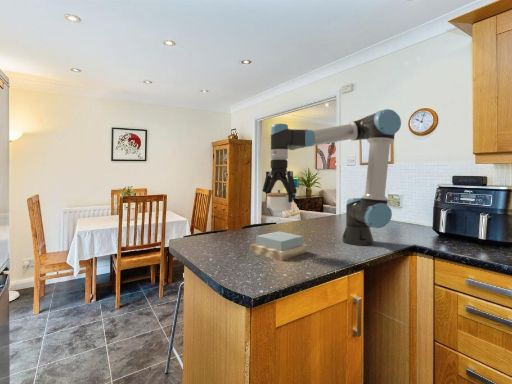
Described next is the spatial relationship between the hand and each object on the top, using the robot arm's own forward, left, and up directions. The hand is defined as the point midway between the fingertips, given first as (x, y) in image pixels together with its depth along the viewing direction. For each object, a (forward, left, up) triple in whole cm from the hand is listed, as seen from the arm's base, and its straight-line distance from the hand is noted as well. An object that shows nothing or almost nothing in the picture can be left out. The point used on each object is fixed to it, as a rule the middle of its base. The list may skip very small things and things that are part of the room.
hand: (278, 208), depth 123 cm
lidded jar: (0, 0, -1) cm, 1 cm away
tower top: (0, 0, -16) cm, 16 cm away
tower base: (0, 0, -20) cm, 20 cm away
